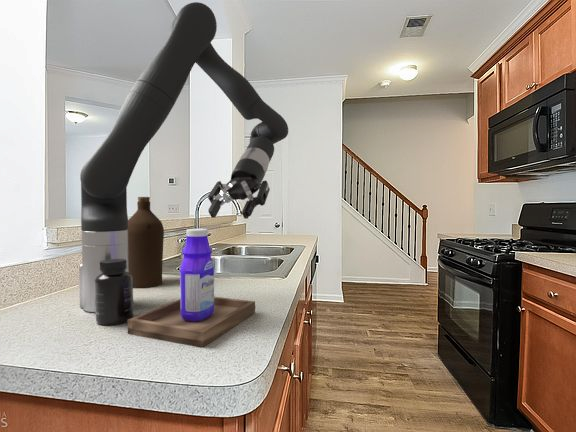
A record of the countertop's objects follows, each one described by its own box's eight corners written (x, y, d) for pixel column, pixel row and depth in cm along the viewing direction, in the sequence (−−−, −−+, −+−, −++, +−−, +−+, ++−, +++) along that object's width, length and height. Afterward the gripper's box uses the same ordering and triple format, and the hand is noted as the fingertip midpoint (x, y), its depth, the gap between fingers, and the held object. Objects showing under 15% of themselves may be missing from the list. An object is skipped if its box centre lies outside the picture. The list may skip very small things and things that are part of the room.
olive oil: (172, 281, 103) (171, 197, 102) (145, 290, 93) (144, 196, 92) (144, 278, 107) (143, 197, 106) (115, 286, 97) (114, 196, 96)
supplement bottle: (123, 312, 74) (123, 256, 74) (139, 319, 70) (139, 260, 70) (89, 320, 69) (88, 260, 69) (104, 328, 65) (103, 264, 64)
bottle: (202, 324, 65) (202, 230, 64) (174, 322, 66) (174, 230, 65) (218, 312, 72) (218, 228, 71) (193, 310, 73) (193, 227, 72)
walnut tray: (127, 333, 63) (127, 319, 62) (192, 304, 80) (192, 293, 80) (203, 347, 57) (202, 332, 57) (255, 313, 75) (255, 301, 74)
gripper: (221, 158, 89) (194, 203, 79) (272, 156, 84) (250, 204, 73) (232, 180, 94) (207, 225, 84) (281, 179, 89) (261, 227, 79)
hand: (227, 215), depth 79 cm, fingers open, 8 cm apart
